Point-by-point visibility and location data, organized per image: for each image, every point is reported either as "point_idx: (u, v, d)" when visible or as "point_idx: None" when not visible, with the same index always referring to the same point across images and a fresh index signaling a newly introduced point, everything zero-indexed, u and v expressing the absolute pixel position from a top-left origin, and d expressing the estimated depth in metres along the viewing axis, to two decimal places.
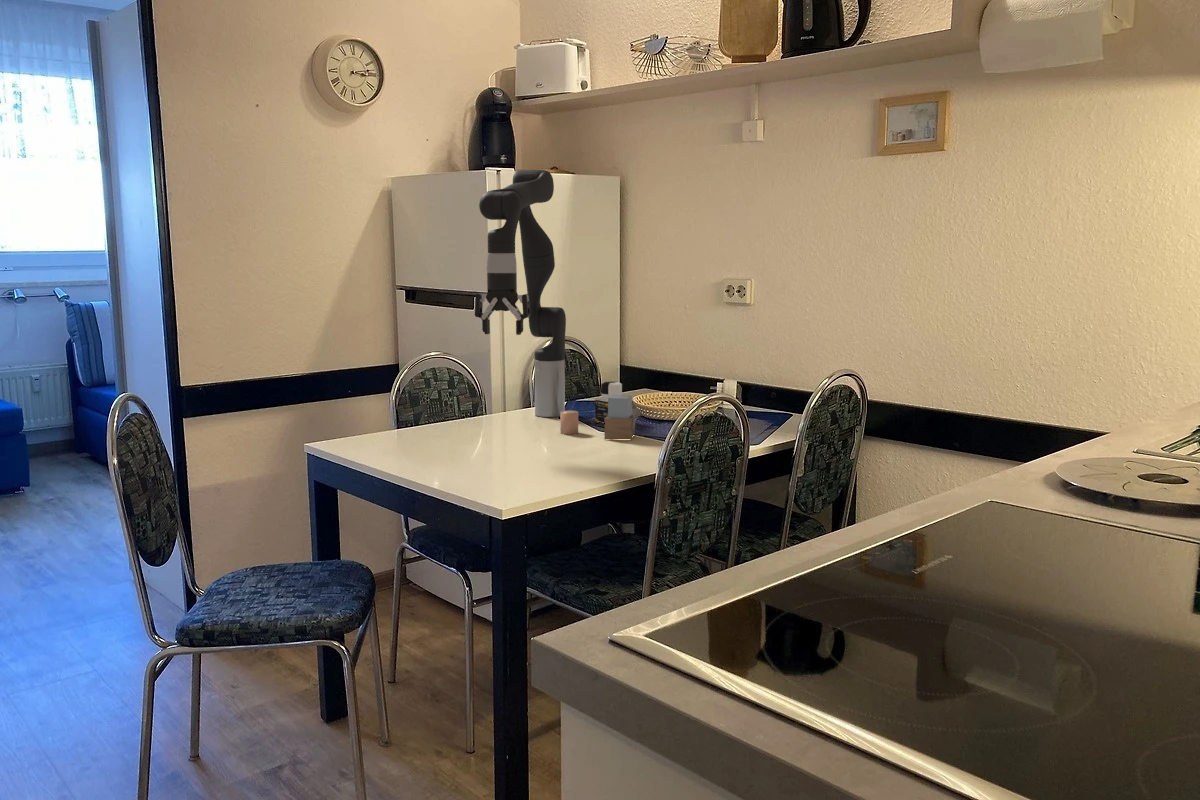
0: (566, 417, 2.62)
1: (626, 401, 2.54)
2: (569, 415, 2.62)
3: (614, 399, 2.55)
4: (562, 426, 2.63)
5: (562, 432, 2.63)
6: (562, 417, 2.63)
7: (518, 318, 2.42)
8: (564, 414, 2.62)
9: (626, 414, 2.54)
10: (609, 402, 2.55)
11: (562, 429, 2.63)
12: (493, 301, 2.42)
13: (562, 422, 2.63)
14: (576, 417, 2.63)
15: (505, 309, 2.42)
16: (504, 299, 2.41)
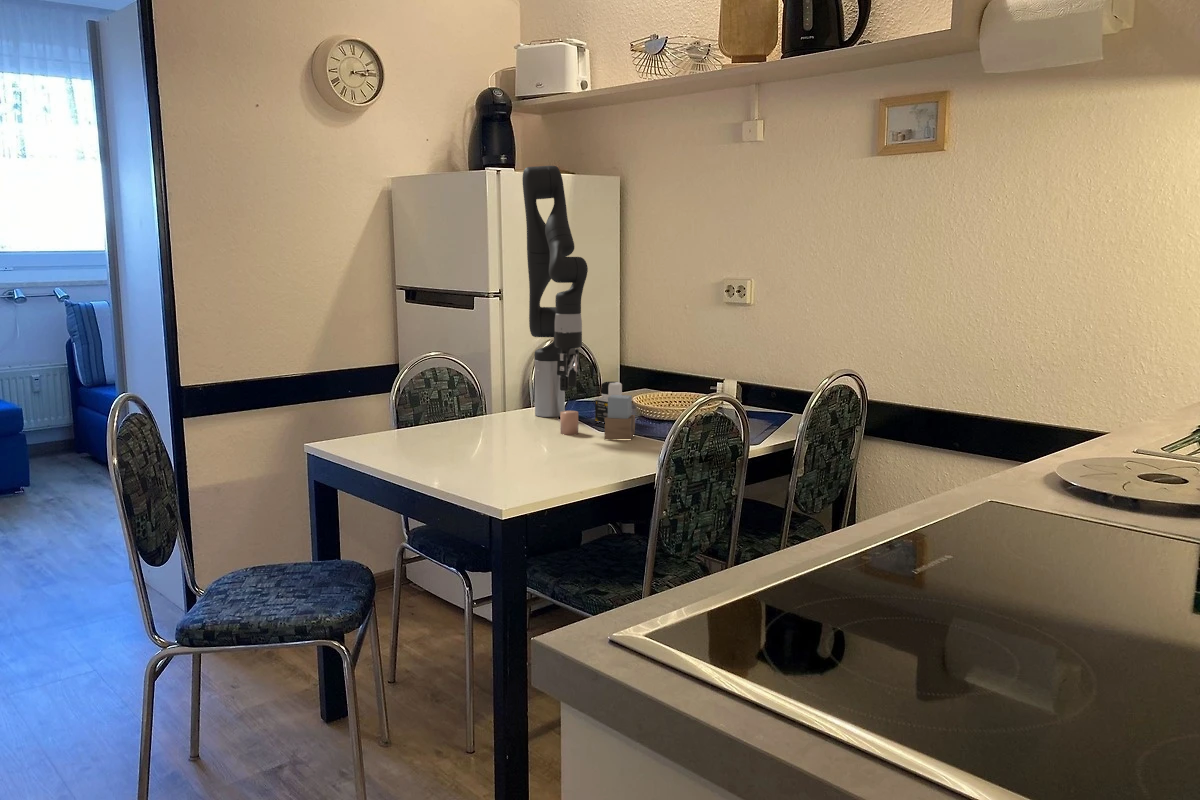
0: (566, 417, 2.62)
1: (626, 401, 2.54)
2: (569, 415, 2.62)
3: (614, 399, 2.55)
4: (562, 426, 2.63)
5: (562, 432, 2.63)
6: (562, 417, 2.63)
7: (576, 371, 2.66)
8: (564, 414, 2.62)
9: (626, 414, 2.54)
10: (609, 402, 2.55)
11: (562, 429, 2.63)
12: (573, 358, 2.59)
13: (562, 422, 2.63)
14: (576, 417, 2.63)
15: (573, 364, 2.62)
16: (576, 355, 2.62)
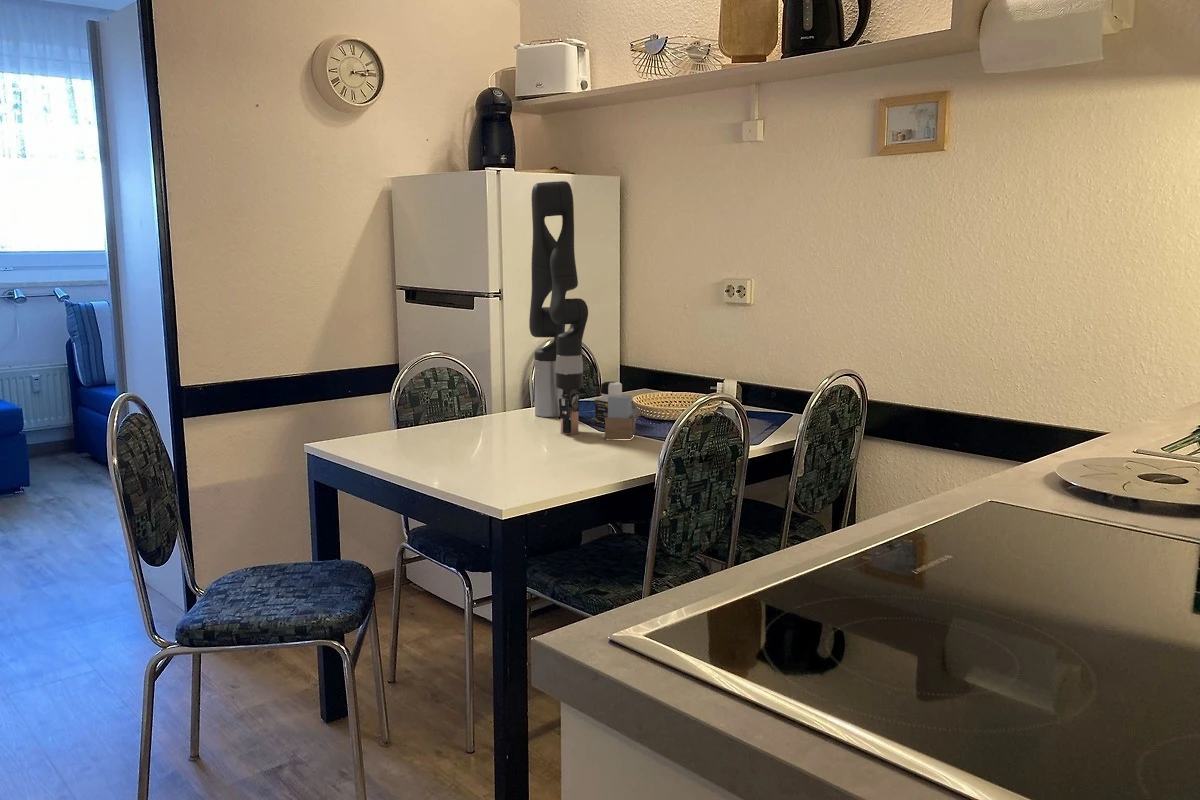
0: None
1: (626, 401, 2.54)
2: None
3: (614, 399, 2.54)
4: (562, 426, 2.63)
5: (562, 432, 2.63)
6: None
7: None
8: None
9: (626, 414, 2.54)
10: (609, 402, 2.55)
11: (562, 429, 2.63)
12: (574, 399, 2.61)
13: (562, 422, 2.63)
14: (576, 417, 2.63)
15: None
16: (577, 395, 2.64)
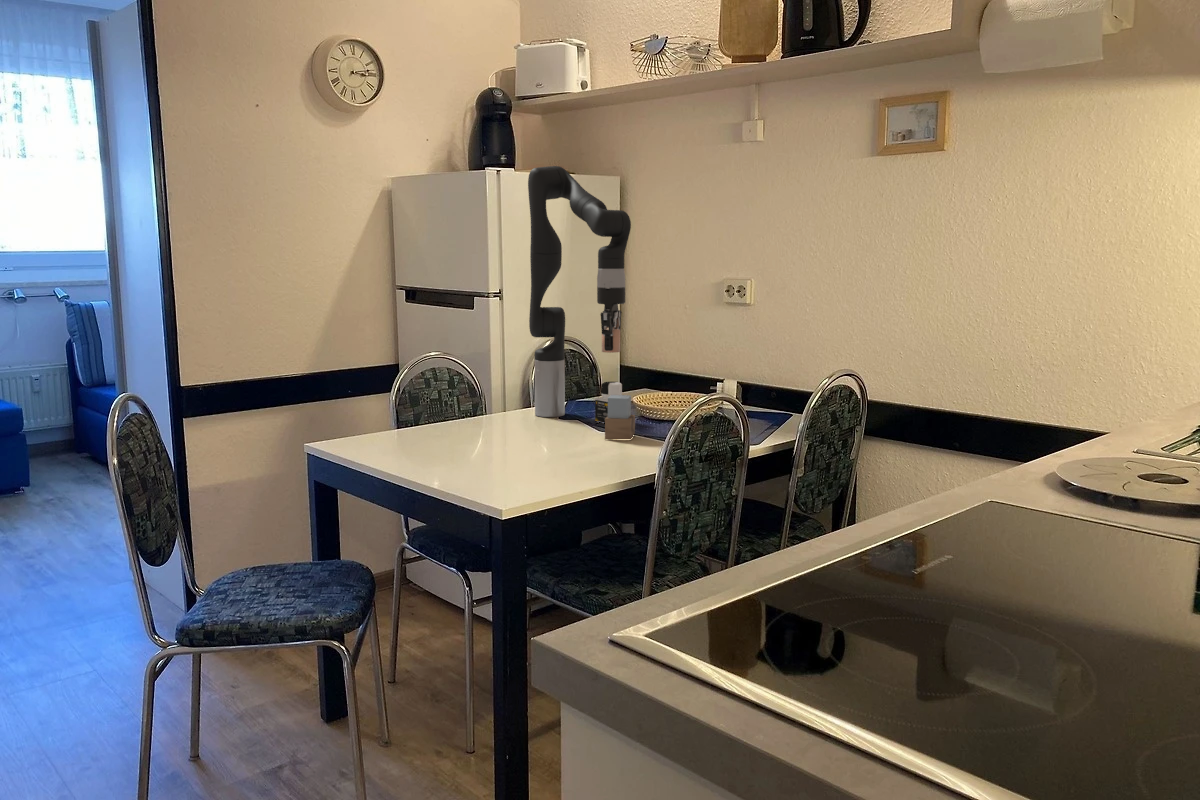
0: None
1: (626, 401, 2.54)
2: None
3: (614, 399, 2.54)
4: (603, 343, 2.53)
5: (603, 350, 2.53)
6: None
7: None
8: None
9: (626, 414, 2.55)
10: (609, 402, 2.55)
11: (603, 347, 2.53)
12: (616, 315, 2.52)
13: (603, 339, 2.53)
14: (618, 334, 2.53)
15: (616, 322, 2.55)
16: (619, 312, 2.54)
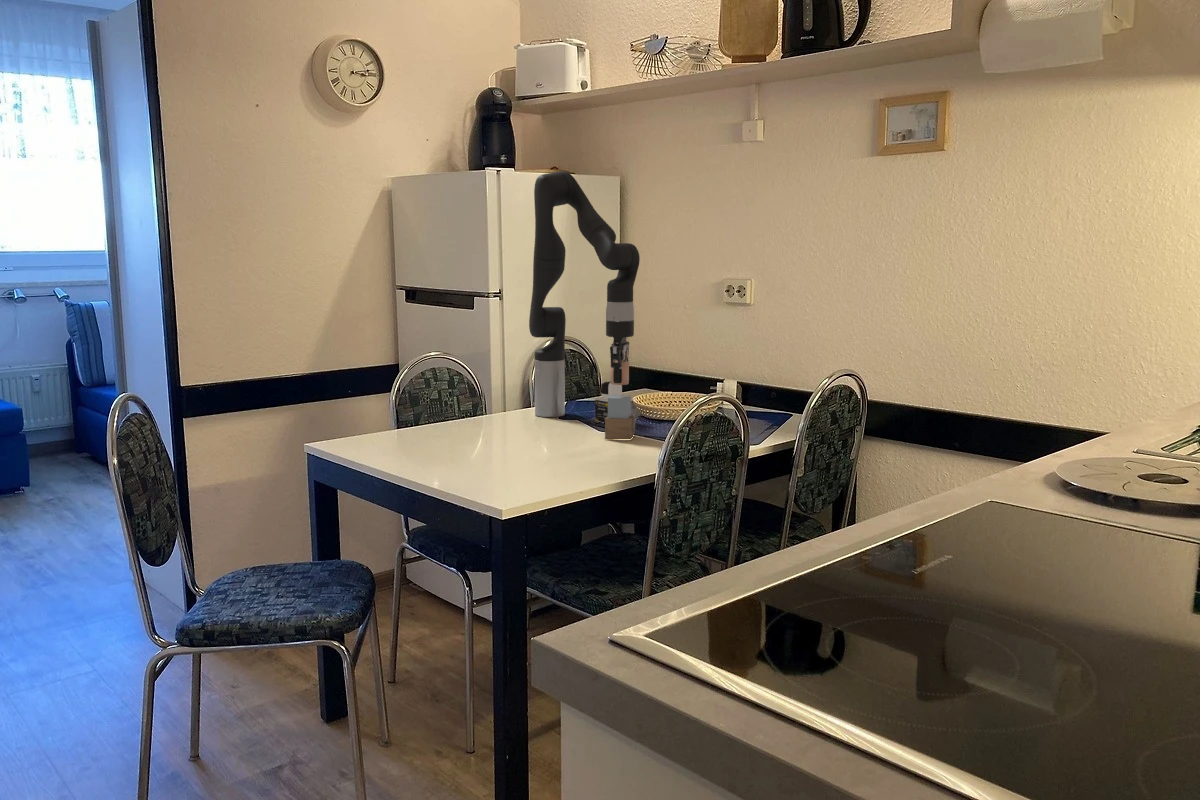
0: None
1: (626, 401, 2.54)
2: None
3: (614, 399, 2.54)
4: (612, 376, 2.54)
5: (612, 382, 2.55)
6: None
7: None
8: None
9: (626, 414, 2.54)
10: (609, 402, 2.55)
11: (612, 379, 2.54)
12: (625, 348, 2.53)
13: (612, 372, 2.54)
14: (627, 366, 2.54)
15: (624, 354, 2.56)
16: (627, 344, 2.55)
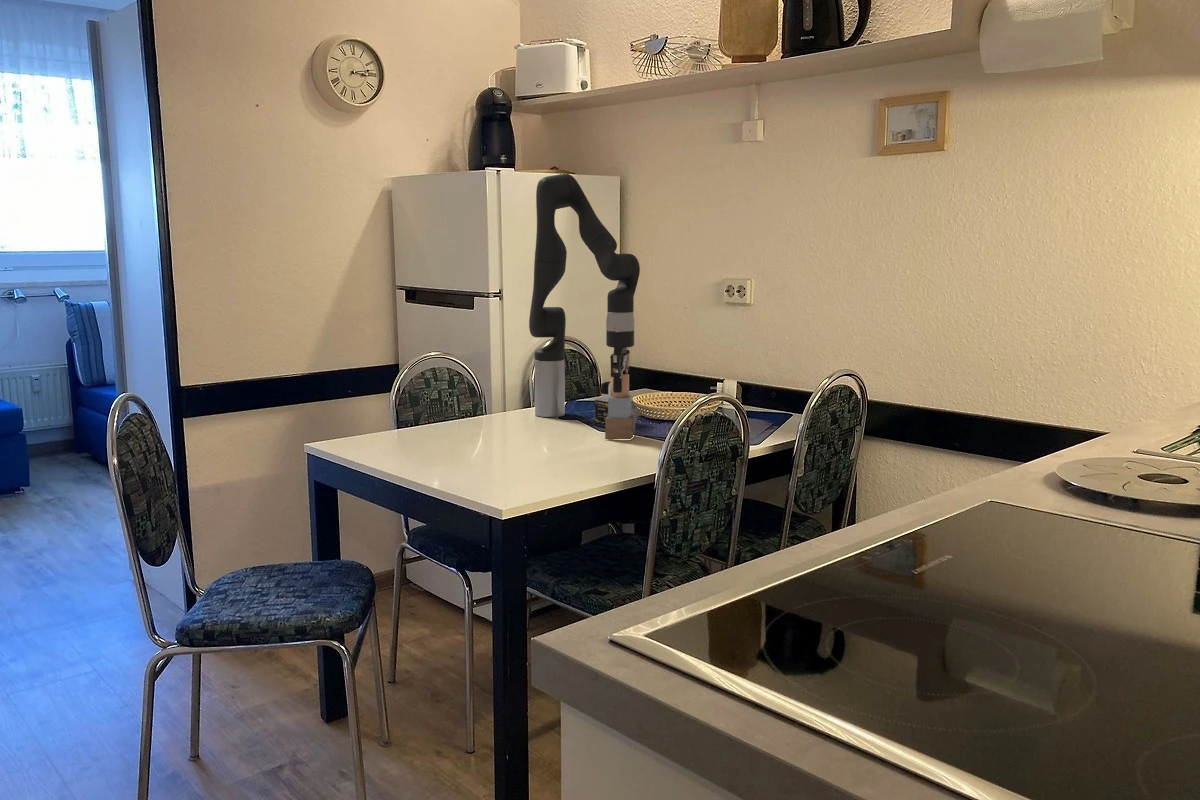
0: None
1: (626, 401, 2.54)
2: None
3: (614, 399, 2.54)
4: None
5: (613, 395, 2.55)
6: None
7: (627, 373, 2.59)
8: None
9: (626, 414, 2.54)
10: (609, 402, 2.55)
11: (613, 392, 2.55)
12: (626, 358, 2.53)
13: None
14: (627, 380, 2.55)
15: None
16: (628, 354, 2.56)
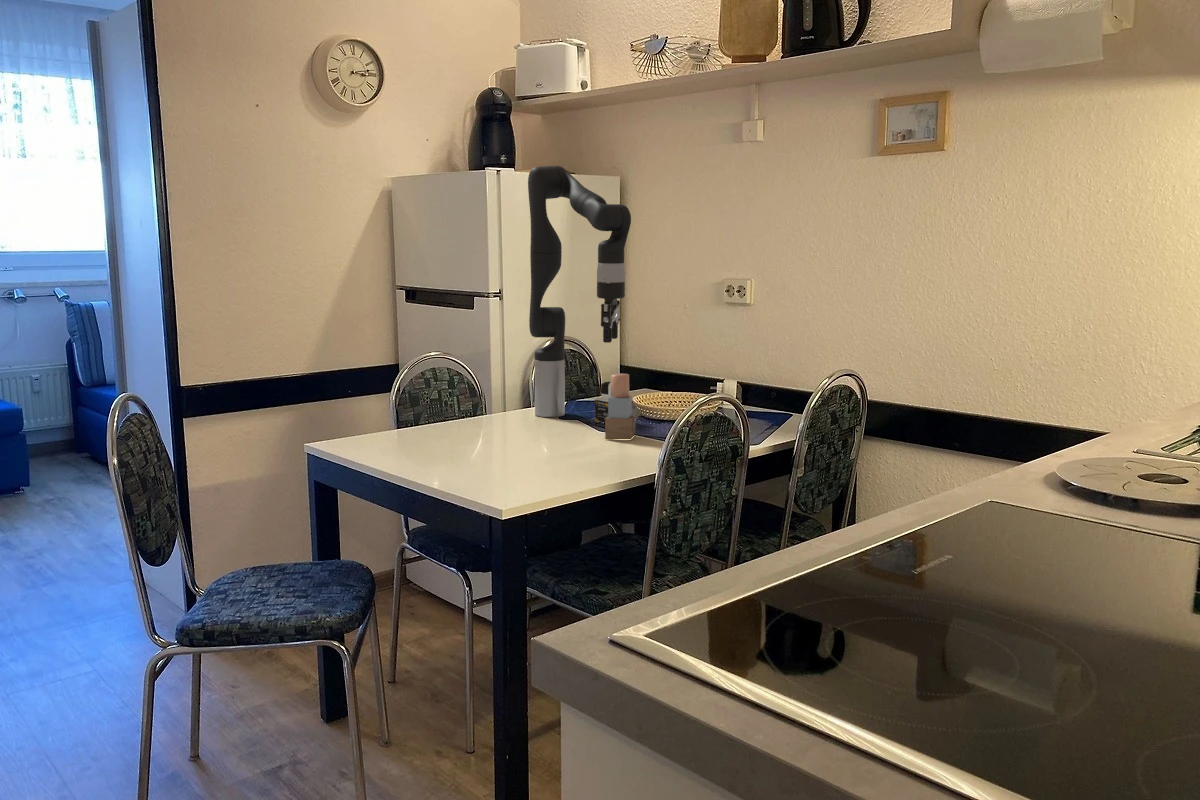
0: (617, 379, 2.54)
1: (626, 401, 2.54)
2: (620, 377, 2.53)
3: (614, 399, 2.54)
4: (612, 389, 2.55)
5: (612, 395, 2.55)
6: (612, 380, 2.55)
7: (618, 323, 2.60)
8: (614, 376, 2.54)
9: (626, 414, 2.54)
10: (609, 402, 2.55)
11: (612, 392, 2.55)
12: (616, 309, 2.53)
13: (612, 385, 2.55)
14: (627, 380, 2.55)
15: (615, 316, 2.56)
16: (618, 306, 2.55)
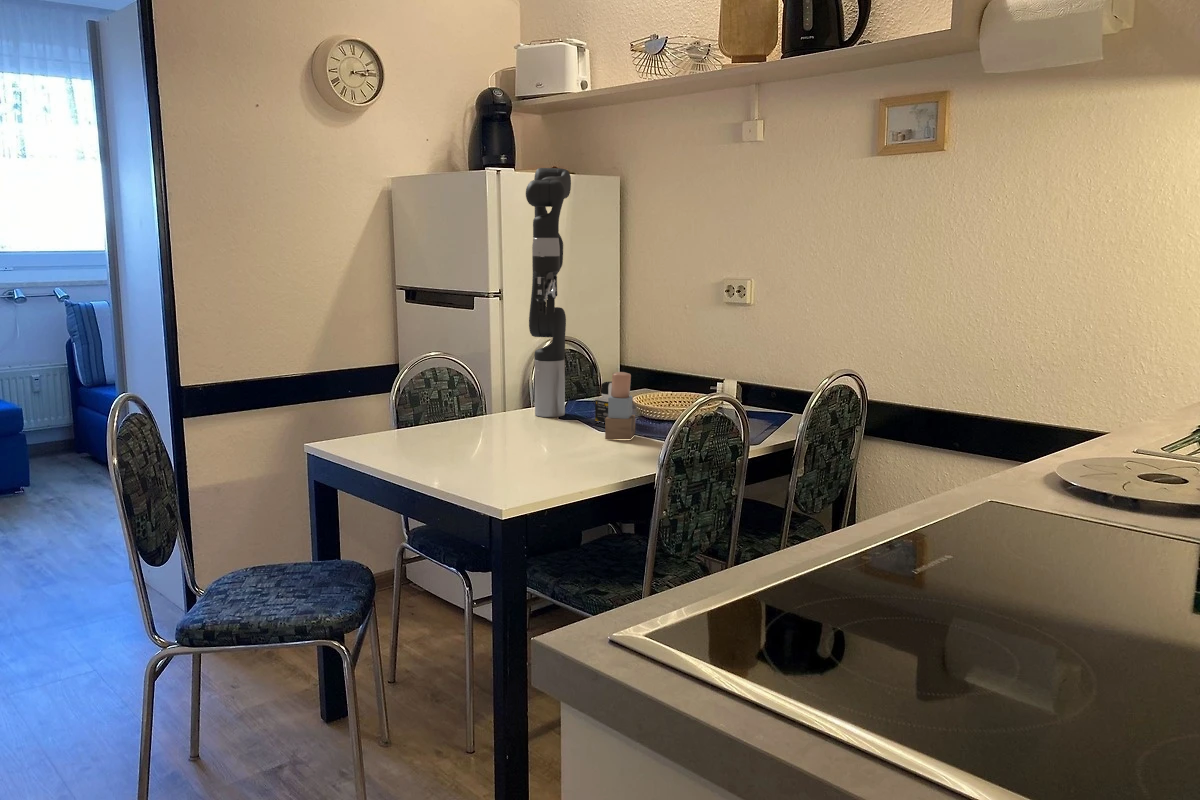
0: (617, 379, 2.53)
1: (626, 401, 2.54)
2: (620, 378, 2.53)
3: (614, 399, 2.54)
4: (612, 388, 2.55)
5: (612, 394, 2.55)
6: (613, 379, 2.54)
7: (555, 297, 2.66)
8: (615, 376, 2.53)
9: (626, 414, 2.54)
10: (609, 402, 2.55)
11: (612, 391, 2.55)
12: (551, 283, 2.59)
13: (613, 384, 2.55)
14: (628, 380, 2.54)
15: (551, 290, 2.63)
16: (554, 280, 2.62)
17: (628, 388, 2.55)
